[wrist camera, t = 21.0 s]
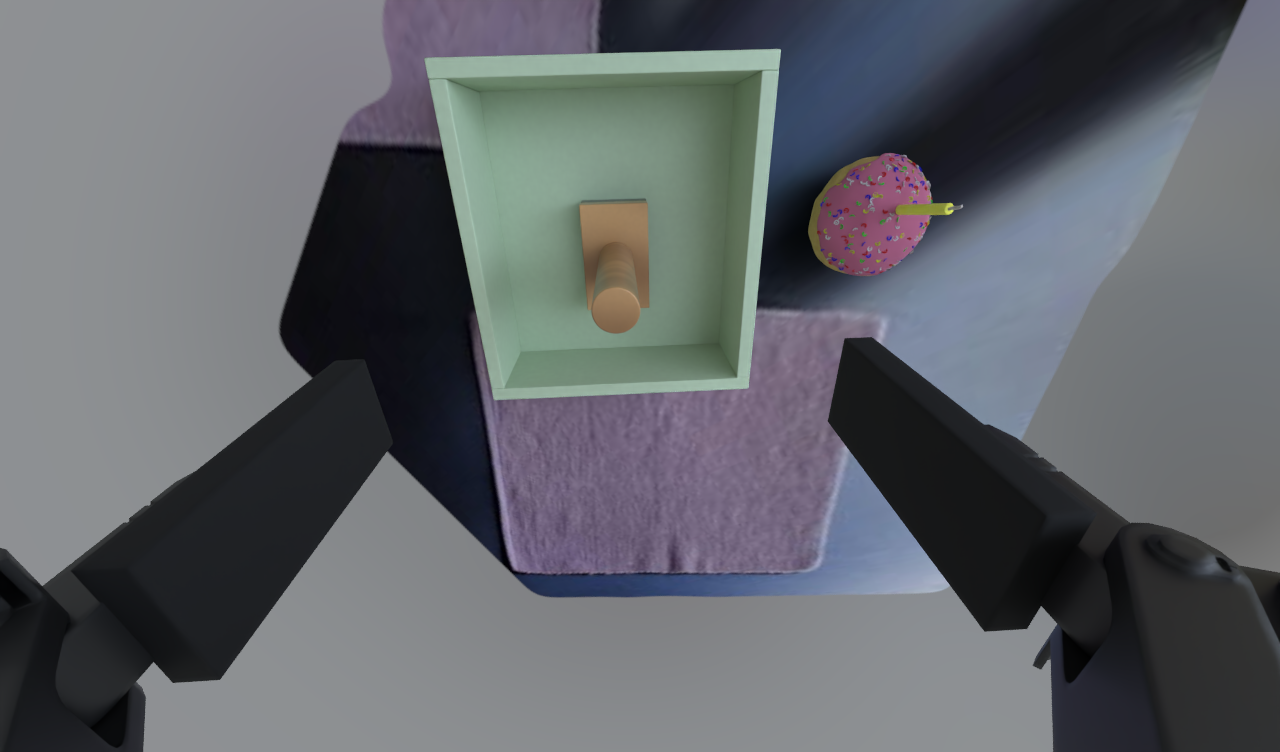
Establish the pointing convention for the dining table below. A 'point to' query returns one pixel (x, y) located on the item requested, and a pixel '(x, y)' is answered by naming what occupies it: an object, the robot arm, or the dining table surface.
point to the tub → (600, 170)
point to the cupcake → (872, 215)
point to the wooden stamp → (615, 261)
